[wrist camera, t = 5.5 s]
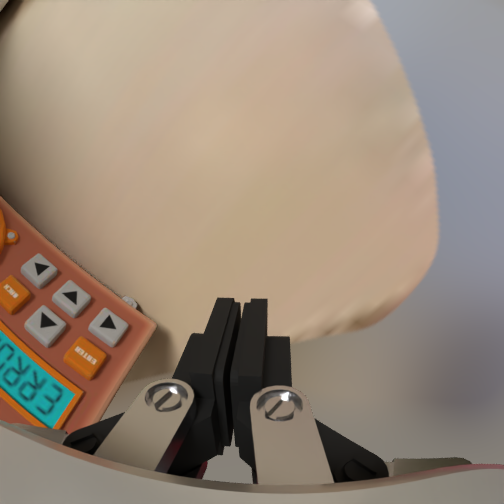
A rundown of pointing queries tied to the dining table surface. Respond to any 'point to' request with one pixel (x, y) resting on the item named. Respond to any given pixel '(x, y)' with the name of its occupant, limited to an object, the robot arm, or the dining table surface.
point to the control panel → (59, 333)
